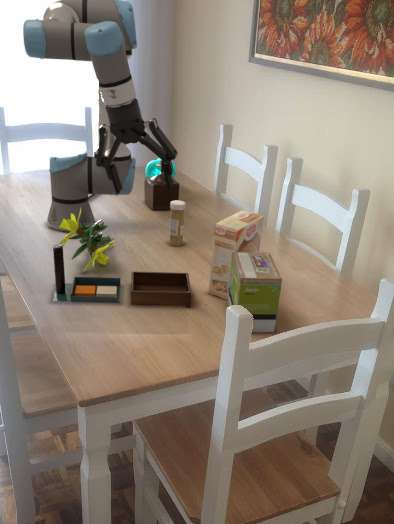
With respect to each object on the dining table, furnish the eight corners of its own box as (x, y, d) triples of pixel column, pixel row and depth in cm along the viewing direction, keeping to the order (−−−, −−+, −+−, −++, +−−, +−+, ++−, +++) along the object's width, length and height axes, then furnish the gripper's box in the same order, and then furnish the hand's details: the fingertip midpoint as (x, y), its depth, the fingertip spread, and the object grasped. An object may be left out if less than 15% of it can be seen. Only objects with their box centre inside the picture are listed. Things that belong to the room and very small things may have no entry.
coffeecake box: (230, 301, 150) (238, 230, 140) (207, 293, 153) (213, 223, 143) (256, 282, 161) (265, 215, 151) (234, 275, 164) (241, 209, 154)
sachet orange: (76, 288, 149) (76, 285, 149) (95, 289, 150) (95, 285, 149) (74, 296, 145) (74, 292, 145) (94, 296, 146) (94, 293, 145)
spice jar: (185, 245, 181) (188, 203, 174) (173, 247, 179) (175, 205, 172) (178, 240, 184) (180, 199, 177) (165, 242, 182) (167, 200, 175)
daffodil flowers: (134, 244, 181) (121, 258, 148) (95, 266, 183) (73, 285, 150) (107, 195, 177) (87, 199, 143) (66, 218, 179) (38, 227, 145)
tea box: (225, 303, 149) (231, 250, 141) (263, 304, 150) (271, 251, 142) (233, 333, 136) (240, 276, 128) (275, 333, 137) (284, 277, 129)
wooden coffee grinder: (180, 208, 211) (183, 159, 201) (152, 210, 207) (153, 159, 197) (166, 196, 223) (168, 148, 213) (139, 197, 219) (140, 149, 209)
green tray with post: (57, 285, 151) (54, 238, 144) (120, 286, 153) (120, 240, 146) (52, 302, 143) (48, 253, 136) (119, 303, 145) (118, 256, 138)
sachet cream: (97, 289, 150) (97, 285, 149) (116, 289, 150) (116, 286, 150) (96, 296, 146) (96, 293, 146) (116, 297, 147) (116, 293, 146)
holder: (131, 285, 154) (131, 271, 152) (187, 286, 156) (188, 272, 154) (130, 306, 144) (130, 291, 142) (190, 307, 146) (191, 292, 143)
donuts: (176, 182, 239) (177, 158, 234) (165, 188, 231) (166, 163, 226) (155, 178, 242) (156, 154, 237) (144, 183, 235) (144, 159, 229)
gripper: (64, 114, 129) (93, 199, 142) (169, 101, 121) (189, 192, 135) (76, 101, 134) (103, 185, 148) (177, 88, 127) (196, 177, 141)
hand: (144, 189), depth 142 cm, fingers open, 13 cm apart
